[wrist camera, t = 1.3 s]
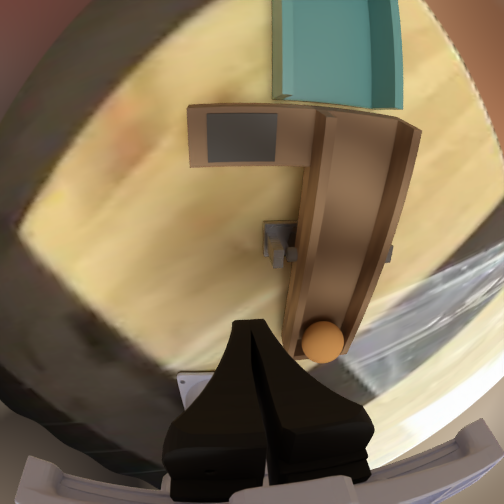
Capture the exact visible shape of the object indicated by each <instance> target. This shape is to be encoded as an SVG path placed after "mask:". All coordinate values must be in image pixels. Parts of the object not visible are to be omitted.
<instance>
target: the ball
mask: <svg viewBox="0 0 504 504" xmlns="http://www.w3.org/2000/svg"><path fill="white" fill-rule="evenodd" d="M343 346H344V337H343V334H342V332H341V330H340V329H339V328H338V327H337V326H336V325H335V324H333V323H331V322H327V321H319V322H316V323H314V324H312V325H310V326H309V327H308V328H307V329H306V331H305V332H304V334H303V337H302V349H303V352H304V354H305V355H306V356H307V357H308V358H309V359H310V360H312V361H314V362H317V363H327V362H330V361H332V360H334V359H335V358H337V357H338V356H339V354H340V353H341V351H342V349H343Z"/></svg>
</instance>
